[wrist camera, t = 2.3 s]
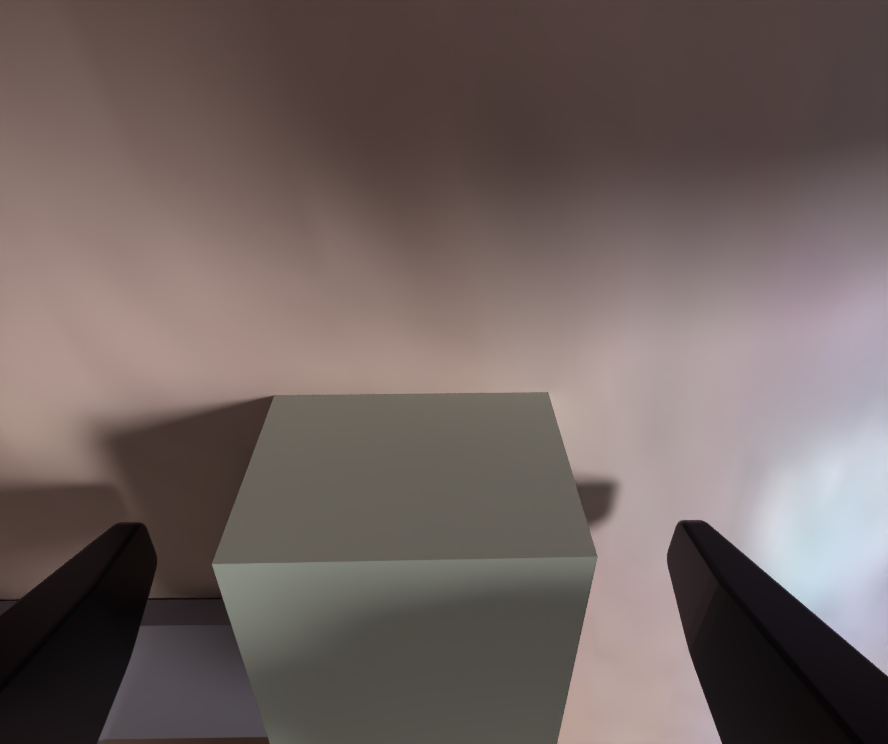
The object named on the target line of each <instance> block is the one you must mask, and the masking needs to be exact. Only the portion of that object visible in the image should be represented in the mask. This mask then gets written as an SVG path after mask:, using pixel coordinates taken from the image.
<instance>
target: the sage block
mask: <svg viewBox="0 0 888 744" xmlns="http://www.w3.org/2000/svg"><path fill="white" fill-rule="evenodd" d="M596 561H597V553H596V550H595V547H594V543H593V540H592V537H591V533H590V530H589V527H588V524H587V520H586V517H585V514H584V510H583V507H582V504H581V500H580V497H579V494H578V490H577V487H576V484H575V480H574V477H573V474H572V470H571V467H570V464H569V460H568V457H567V454H566V450H565V447H564V444H563V440H562V437H561V434H560V430H559V427H558V424H557V420H556V417H555V414H554V410H553V407H552V404H551V401H550V397H549V394H548V392H531V393H445V394H360V395H275V396H274V398H273V401H272V403H271V406H270V409H269V411H268V414H267V417H266V419H265V422H264V425H263V428H262V430H261V433H260V436H259V438H258V441H257V444H256V446H255V449H254V452H253V454H252V457H251V460H250V463H249V465H248V468H247V471H246V473H245V476H244V479H243V481H242V484H241V487H240V489H239V492H238V495H237V498H236V500H235V503H234V506H233V508H232V511H231V514H230V516H229V519H228V522H227V525H226V527H225V530H224V533H223V535H222V538H221V541H220V543H219V546H218V549H217V551H216V554H215V557H214V560H213V562H212V566H213V570H214V573H215V576H216V579H217V582H218V585H219V588H220V591H221V594H222V597H223V600H224V604H225V607H226V610H227V613H228V616H229V619H230V622H231V625H232V628H233V631H234V634H235V638H236V641H237V644H238V647H239V650H240V653H241V656H242V659H243V662H244V665H245V668H246V672H247V675H248V678H249V681H250V684H251V687H252V690H253V693H254V696H255V699H256V702H257V706H258V709H259V712H260V715H261V718H262V721H263V724H264V727H265V730H266V733H267V736H268V740H269V743H270V744H557V741H558V736H559V732H560V727H561V723H562V718H563V713H564V709H565V704H566V700H567V695H568V690H569V686H570V681H571V677H572V672H573V667H574V663H575V658H576V654H577V649H578V644H579V640H580V635H581V630H582V626H583V621H584V617H585V612H586V607H587V603H588V598H589V594H590V589H591V584H592V580H593V575H594V571H595V566H596Z"/></svg>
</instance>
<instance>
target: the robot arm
mask: <svg viewBox="0 0 888 744" xmlns="http://www.w3.org/2000/svg"><path fill="white" fill-rule="evenodd" d="M667 564H668V569H669V573H670V577H671V581H672V585H673V589H674V593H675V597H676V601H677V605H678V610H679V614H680V618H681V622H682V626H683V630H684V634H685V638H686V642H687V645H688V649H689V652H690V655H691V658H692V661H693V664H694V667H695V670H696V673H697V676H698V678H699V681H700V684H701V687H702V689H703V692H704V695H705V698H706V700H707V703H708V706H709V709H710V711H711V714H712V717H713V720H714V722H715V725H716V728H717V731H718V733H719V736H720V739H721V742H722V744H888V676H887V675H886V674H884V673H883V672H882V671H881V670H880V669H879V668H877V667H876V666H875V665H874V664H873V663H871V662H870V661H869V660H868V659H867V658H866V657H864V656H863V655H862V654H861V653H860V652H859V651H857V650H856V649H855V648H854V647H853V646H851V645H850V644H849V643H848V642H847V641H846V640H844V639H843V638H842V637H841V636H840V635H839V634H837V633H836V632H835V631H834V630H833V629H831V628H830V627H829V626H828V625H827V624H826V623H824V622H823V621H822V620H821V619H820V618H819V617H817V616H816V615H815V614H814V613H813V612H812V611H810V610H809V609H808V608H807V607H806V606H804V605H803V604H802V603H801V602H800V601H799V600H797V599H796V598H795V597H794V596H793V595H792V594H790V593H789V592H788V591H787V590H786V589H784V588H783V587H782V586H781V585H780V584H779V583H777V582H776V581H775V580H774V579H773V578H772V577H770V576H769V575H768V574H767V573H766V572H764V571H763V570H762V569H761V568H760V567H759V566H757V565H756V564H755V563H754V562H753V561H752V560H750V559H749V558H748V557H747V556H746V555H744V554H743V553H742V552H741V551H740V550H739V549H737V548H736V547H735V546H734V545H733V544H732V543H730V542H729V541H728V540H727V539H726V538H724V537H723V536H722V535H721V534H720V533H719V532H717V531H716V530H715V529H714V528H713V527H712V526H710V525H709V524H708V523H706V522H705V521H702V520H682V521H680V522H678V524H677V525H676V528H675V531H674V534H673V537H672V540H671V543H670V546H669V549H668V553H667ZM156 567H157V555H156V552H155V549H154V546H153V544H152V541H151V538H150V535H149V533H148V530H147V528H146V526H145V525H144V524H143V523H140V522H122V523H117V524H115V525H113V526H112V527H111V528H109V529H108V530H107V531H106V532H104V533H103V534H102V535H101V536H99V537H98V538H97V539H95V540H94V541H93V542H92V543H90V544H89V545H88V546H87V547H85V548H84V549H83V550H82V551H80V552H79V553H78V554H77V555H75V556H74V557H73V558H71V559H70V560H69V561H68V562H66V563H65V564H64V565H63V566H61V567H60V568H59V569H58V570H56V571H55V572H54V573H53V574H51V575H50V576H49V577H47V578H46V579H45V580H44V581H42V582H41V583H40V584H39V585H37V586H36V587H35V588H34V589H32V590H31V591H30V592H29V593H27V594H26V595H25V596H23V597H22V598H21V599H20V600H18V601H17V602H16V603H15V604H13V605H12V606H11V607H10V608H8V609H7V610H6V611H5V612H3V613H2V614H1V615H0V744H97V743H98V740H99V738H100V735H101V733H102V730H103V728H104V725H105V723H106V720H107V718H108V715H109V713H110V710H111V707H112V705H113V702H114V700H115V697H116V695H117V692H118V690H119V687H120V685H121V682H122V680H123V677H124V675H125V672H126V670H127V667H128V664H129V662H130V659H131V656H132V653H133V649H134V646H135V643H136V639H137V636H138V632H139V629H140V625H141V621H142V618H143V614H144V611H145V607H146V604H147V600H148V596H149V593H150V589H151V586H152V582H153V579H154V575H155V571H156Z"/></svg>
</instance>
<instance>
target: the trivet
mask: <svg viewBox="0 0 888 744" xmlns="http://www.w3.org/2000/svg"><path fill="white" fill-rule="evenodd" d="M16 602H17V601H0V615H1V614H2V613H3V612H5V611H6V610H7V609H8V608H10V607H11V606H12V605H13V604H15V603H16ZM230 737H268V736H267V733H266V730H265V727H264V724H263V721H262V718H261V715H260V712H259V709H258V706H257V702H256V699H255V696H254V693H253V690H252V687H251V684H250V681H249V678H248V675H247V672H246V668H245V665H244V662H243V659H242V656H241V653H240V650H239V647H238V644H237V641H236V638H235V634H234V631H233V628H232V625H231V622H230V619H229V616H228V613H227V610H226V607H225V604H224V600H223V599H197V600H147V604H146V607H145V611H144V614H143V618H142V621H141V625H140V629H139V632H138V636H137V639H136V643H135V646H134V649H133V653H132V656H131V659H130V662H129V664H128V667H127V670H126V672H125V675H124V677H123V680H122V682H121V685H120V687H119V690H118V692H117V695H116V697H115V700H114V702H113V705H112V707H111V710H110V713H109V715H108V718H107V720H106V723H105V725H104V728H103V730H102V733H101V735H100V738H99V740H98V743H97V744H104V743H105V741H106V739H163V738H230Z"/></svg>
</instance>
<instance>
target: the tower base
mask: <svg viewBox="0 0 888 744" xmlns="http://www.w3.org/2000/svg"><path fill="white" fill-rule="evenodd" d="M104 744H270V743H269V740H268V737H230V738H163V739H106V741H105V743H104Z"/></svg>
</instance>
